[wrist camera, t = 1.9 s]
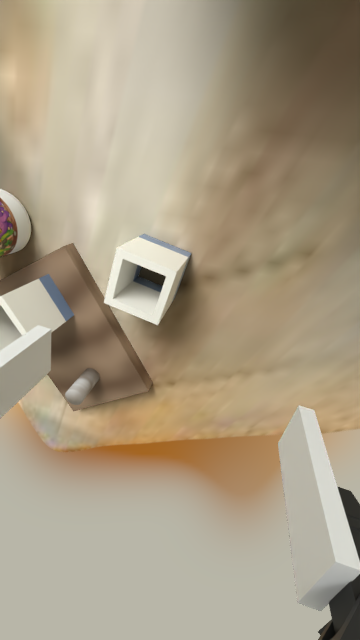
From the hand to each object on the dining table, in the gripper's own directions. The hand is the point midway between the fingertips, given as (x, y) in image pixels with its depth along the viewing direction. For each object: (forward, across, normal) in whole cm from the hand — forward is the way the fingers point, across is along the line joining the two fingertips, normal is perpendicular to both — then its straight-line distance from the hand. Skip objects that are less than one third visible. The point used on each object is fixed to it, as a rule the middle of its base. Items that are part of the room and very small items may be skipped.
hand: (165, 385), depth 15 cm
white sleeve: (+22, -6, -1) cm, 23 cm away
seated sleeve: (+20, -20, -9) cm, 30 cm away
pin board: (+22, -16, -14) cm, 30 cm away
